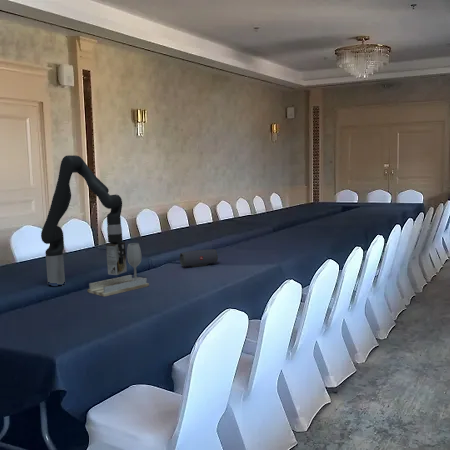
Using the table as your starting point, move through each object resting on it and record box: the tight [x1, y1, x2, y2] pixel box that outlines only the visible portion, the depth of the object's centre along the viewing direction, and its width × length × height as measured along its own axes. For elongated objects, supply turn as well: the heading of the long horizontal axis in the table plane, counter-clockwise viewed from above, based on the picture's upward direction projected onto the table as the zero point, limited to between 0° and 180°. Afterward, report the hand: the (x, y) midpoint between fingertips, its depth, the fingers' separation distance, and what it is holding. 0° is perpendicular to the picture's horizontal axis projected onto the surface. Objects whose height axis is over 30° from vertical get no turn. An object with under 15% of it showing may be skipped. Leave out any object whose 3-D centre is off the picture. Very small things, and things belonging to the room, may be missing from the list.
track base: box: [87, 274, 150, 298], centre depth 296 cm, size 16×28×4 cm, turn 134°
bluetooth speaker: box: [179, 248, 219, 268], centre depth 349 cm, size 23×9×10 cm, turn 114°
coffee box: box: [105, 241, 128, 276], centre depth 294 cm, size 9×6×16 cm
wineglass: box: [126, 242, 143, 280], centre depth 314 cm, size 9×9×21 cm
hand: (116, 263), depth 294 cm, fingers closed on coffee box, 8 cm apart
